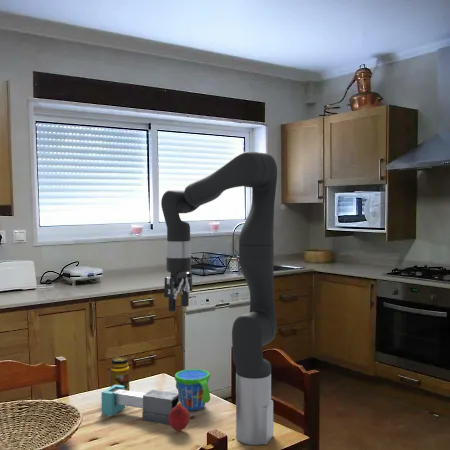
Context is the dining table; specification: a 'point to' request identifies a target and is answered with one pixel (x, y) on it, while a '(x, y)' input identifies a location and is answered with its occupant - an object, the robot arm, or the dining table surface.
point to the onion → (179, 417)
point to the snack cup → (193, 388)
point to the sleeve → (158, 406)
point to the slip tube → (128, 398)
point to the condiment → (119, 372)
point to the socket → (111, 401)
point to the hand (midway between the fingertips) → (178, 308)
